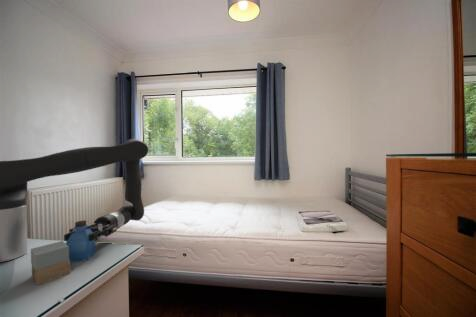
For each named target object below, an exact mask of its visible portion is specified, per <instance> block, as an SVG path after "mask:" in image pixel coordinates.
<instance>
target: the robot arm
mask: <svg viewBox="0 0 476 317" xmlns="http://www.w3.org/2000/svg"><path fill="white" fill-rule="evenodd" d="M148 153H149V146H148V145H147V144H146V143H145V142H144V141H143V140H140V139H138V138H130V139H128V140H126V141H125V142H124V143H122V144H118V145H113V146H111V145H110V146H89V147H80V148H74V149H68V150H65V151H63V150H62V151H60V152H56V153H52V154H48V155H44V156H41V157H40V156H39V157H34V158H28V159H27V158H26V159H17V160H16V159H15V160H0V263H2V262H7V261H11V260H15V259H19V258H20V257H23V256H25V255H26V254H28V216H27V215H28V212H27V201H28V200H27V199H28V182H31V181H35V180H38V179H42V178H47V177H55V176H62V175H63V176H64V175H69V174H75V173H80V172H84V171H89V170H93V169H94V170H95V169H99V168H101V167H105V166H106V167H107V166H109V165H113V164H117V163H122V162H125V185H124V186H125V187H124V188H125V189H124V200H125V201H126V202H128V203H131V204H124V205H122V206H121V207H120V208H119V209H118V210H116V211H112V212H109V213H106V214H104V215H101V216H99V217H97V218H96V219H95V220H94V222H93V223H89V224H87V228H86V229H90V230H91V231H92V232H93V233H91V234H89V241H92V240H94V239H95V240H96V239H97V238H103V237H105V238H106V237H109V236H111V235H112V234H114V233H115V232H117V231H118V229H120V228H121V227H123V226H124V225H127V224H128V223H129V222H130V221H140V220H142V219H143V217H144V215H145V207H144V203H143V198H142V177H141V170H140V166H141V165H140V163H141V160H142V159H143V158H145V157H146V156H147V155H148ZM68 231H69V232H68V233H65V234H64V235H63V242H67V240H68V239H69V237H70V235H71V234H72V233H74V232H75V230H74V227H73V228H70V229H69V230H68Z"/></svg>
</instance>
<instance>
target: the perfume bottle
mask: <svg viewBox="0 0 476 317" xmlns="http://www.w3.org/2000/svg"><path fill="white" fill-rule="evenodd" d="M87 225H88V224H87V220H79V221H75V222H74V227H73V228H74V230H75V232H74V233H72V234H71V235H70V237H69V239H68V240H67V241H65V244H67V245H68V246H69V260H70V263H75V262H84V261H89V260H90V258H91V257H93V256H94V254H95V253H96V239H94V240H92V241H89V234H91V233H93V232H92V231H91V230H90V229H86V228H87Z"/></svg>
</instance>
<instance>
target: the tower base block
mask: <svg viewBox="0 0 476 317" xmlns="http://www.w3.org/2000/svg"><path fill="white" fill-rule="evenodd" d="M69 274H71V262H70V260H68V261H65V262H62V263H58V264H55V265H52V266H49V267H46V268H43V269H40V270H35V269H34V267H33V265H32V264H31V277H32V280H33V281H34V283H35V284H36V286H39V285H41V284H45V283H47V282H50V281H52V280H55V279H58V278H60V277H64V276H66V275H69Z"/></svg>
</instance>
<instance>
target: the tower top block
mask: <svg viewBox="0 0 476 317" xmlns="http://www.w3.org/2000/svg"><path fill="white" fill-rule="evenodd" d="M68 260H69V246H68V245H67V244H66V242H65V241H64V240H61V241H57V242H53V243H49V244H45V245H41V246H38V247H32V248H30V263H31V266H32V265H33V267H34V269H35V270H40V269H43V268H46V267H49V266H52V265H55V264H58V263H62V262H65V261H68Z"/></svg>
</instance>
